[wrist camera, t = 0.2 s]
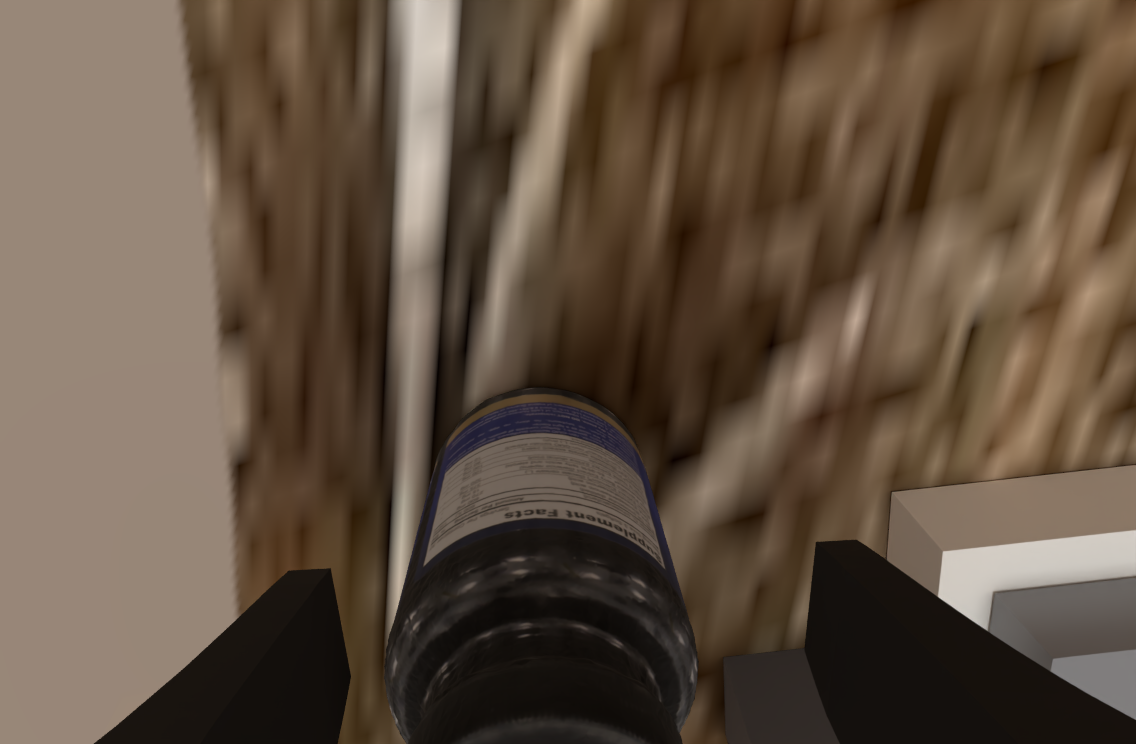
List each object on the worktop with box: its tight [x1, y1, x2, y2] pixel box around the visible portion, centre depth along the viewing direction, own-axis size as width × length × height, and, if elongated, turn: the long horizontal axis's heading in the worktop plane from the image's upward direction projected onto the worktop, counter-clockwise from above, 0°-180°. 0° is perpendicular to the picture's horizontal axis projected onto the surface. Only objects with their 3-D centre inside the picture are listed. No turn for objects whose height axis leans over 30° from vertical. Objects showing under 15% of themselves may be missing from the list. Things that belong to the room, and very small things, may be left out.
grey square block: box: [989, 578, 1136, 720], centre depth 20 cm, size 6×6×2 cm
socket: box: [887, 465, 1136, 632], centre depth 22 cm, size 9×9×3 cm
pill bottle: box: [384, 387, 699, 744], centre depth 16 cm, size 6×6×11 cm
